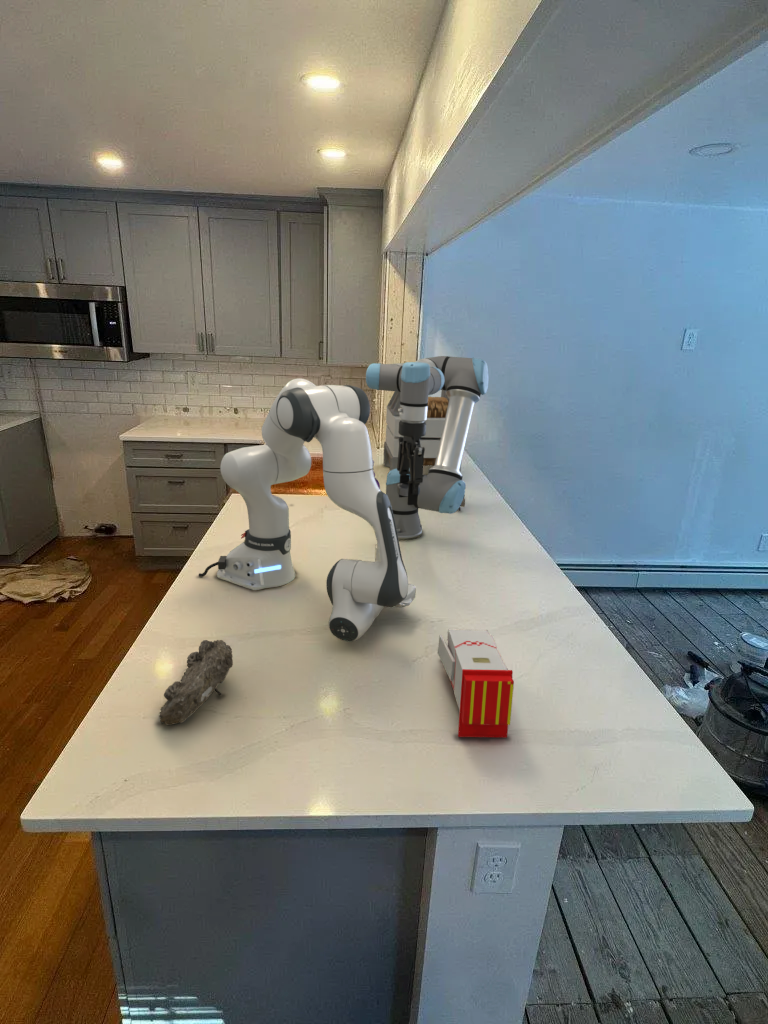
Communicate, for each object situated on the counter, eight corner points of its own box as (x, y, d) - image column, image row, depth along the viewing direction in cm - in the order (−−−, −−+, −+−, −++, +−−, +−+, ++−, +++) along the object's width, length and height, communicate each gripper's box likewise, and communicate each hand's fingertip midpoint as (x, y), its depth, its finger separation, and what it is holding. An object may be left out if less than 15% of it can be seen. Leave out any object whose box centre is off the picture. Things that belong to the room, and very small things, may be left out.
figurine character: (465, 515, 224) (460, 499, 237) (467, 498, 221) (462, 483, 234) (448, 515, 224) (444, 499, 237) (450, 498, 220) (445, 482, 234)
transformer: (382, 463, 289) (386, 382, 275) (445, 464, 293) (451, 384, 279) (390, 482, 257) (394, 392, 243) (460, 483, 261) (468, 394, 247)
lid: (397, 496, 159) (398, 488, 158) (396, 489, 165) (396, 482, 164) (420, 497, 159) (421, 489, 158) (418, 490, 165) (418, 482, 165)
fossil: (185, 642, 124) (233, 610, 119) (215, 671, 126) (264, 641, 122) (136, 718, 104) (191, 685, 99) (173, 751, 107) (229, 720, 102)
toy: (488, 613, 130) (523, 677, 101) (484, 667, 133) (517, 744, 104) (435, 612, 130) (455, 676, 101) (432, 666, 133) (451, 743, 103)
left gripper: (408, 595, 136) (423, 572, 149) (330, 580, 142) (351, 559, 155) (407, 618, 139) (421, 593, 151) (330, 602, 145) (350, 579, 157)
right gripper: (388, 414, 162) (384, 491, 170) (413, 428, 145) (407, 512, 153) (412, 414, 165) (407, 489, 173) (439, 427, 148) (433, 510, 156)
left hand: (385, 576), depth 153 cm, fingers closed on jar, 5 cm apart
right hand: (407, 500), depth 163 cm, fingers closed on lid, 6 cm apart
